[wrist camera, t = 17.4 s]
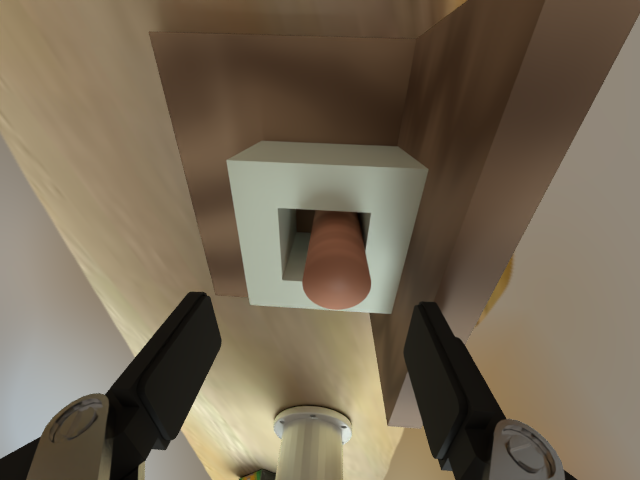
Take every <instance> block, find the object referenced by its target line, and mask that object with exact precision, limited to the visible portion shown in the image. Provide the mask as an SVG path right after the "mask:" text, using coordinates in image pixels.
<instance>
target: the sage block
mask: <svg viewBox="0 0 640 480" xmlns="http://www.w3.org/2000/svg"><path fill="white" fill-rule="evenodd" d="M226 161H227V167H228V174H229V180H230V186H231V192H232V198H233V204H234V210H235V217H236V223H237V229H238V235H239V241H240V247H241V253H242V260H243V266H244V272H245V278H246V284H247V290H248V296H249V303H250V305H258V306H274V307H289V308H305V309H321V310H333V309H327V308H323V307H321V306H318V305H317V304H315V303H313V302H312V301H311V300H310V299H309V298H308V297H307V296H306V294H305V292H304V290H303V285H302V280H303V274H304V269H305V263H306V258H307V252H308V247H309V241H310V236H311V233H304V232H296V209H306V210H326V211H346V212H357V213H358V218H359V223H360V228H361V233H362V238H363V243H364V248H365V253H366V258H367V263H368V268H369V273H370V278H371V289H370V292H369V294H368V295H367V297H366V298H365V299H364V300H363V301H362V302H361V303H359V304H358V305H356V306H353V307H351V308H347V309H341V310H336V311H352V312H368V313H383V314H392V310H393V306H394V302H395V298H396V294H397V290H398V286H399V283H400V279H401V275H402V271H403V267H404V263H405V259H406V255H407V251H408V248H409V244H410V240H411V236H412V232H413V228H414V224H415V220H416V216H417V213H418V209H419V205H420V201H421V197H422V193H423V189H424V185H425V182H426V178H427V174H428V170H429V169H428V168H426V167H425V166H424V165H422V164H421V163H420V162H418V161H417V160H416V159H414V158H413V157H412V156H410V155H409V154H408V153H406V152H405V151H403V150H402V149H401V148H399V147H398V146H377V145H352V144H328V143H304V142H280V141H260V142H259V143H257V144H255V145H253V146H251V147H249V148H248V149H246V150H244V151H242V152H240V153H239V154H237V155H235V156H233V157H231V158H229V159H228V160H226Z"/></svg>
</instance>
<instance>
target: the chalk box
mask: <svg viewBox="0 0 640 480" xmlns="http://www.w3.org/2000/svg"><path fill="white" fill-rule="evenodd" d="M275 478H276V474H274V473H271V472H269V471H266V470H264V469H261V470H259V471H257V472H255V473H252V474H250V475H248V476H245V477H243V478H240V479H239V480H275Z"/></svg>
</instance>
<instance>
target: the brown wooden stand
mask: <svg viewBox="0 0 640 480" xmlns="http://www.w3.org/2000/svg"><path fill="white" fill-rule="evenodd" d="M639 14H640V0H467V1H466V2H465V3H463V4H462V5H461V6H460V7H458V8H457V9H456V10H454V11H453V12H452V13H450V14H449V15H448V16H446V17H445V18H444V19H442V20H441V21H440V22H438V23H437V24H436V25H434V26H433V27H432V28H430V29H429V30H428V31H426V32H425V33H424V34H422V35H421V36H420V37H418V38H417V39H404V38H367V37H329V36H292V35H254V34H217V33H179V32H149V35H150V39H151V43H152V47H153V51H154V55H155V59H156V63H157V66H158V70H159V74H160V78H161V82H162V86H163V90H164V94H165V98H166V102H167V106H168V110H169V114H170V117H171V121H172V125H173V129H174V133H175V137H176V141H177V145H178V149H179V153H180V157H181V161H182V164H183V168H184V172H185V176H186V180H187V184H188V188H189V192H190V196H191V200H192V204H193V208H194V212H195V215H196V219H197V223H198V227H199V231H200V235H201V239H202V243H203V247H204V251H205V255H206V259H207V263H208V266H209V270H210V274H211V278H212V282H213V286H214V290H215V294H216V295H221V296H237V297H249V296H248V290H247V284H246V278H245V272H244V266H243V260H242V253H241V247H240V241H239V235H238V229H237V223H236V217H235V210H234V204H233V198H232V192H231V186H230V180H229V174H228V167H227V161H226V160H228V159H229V158H231V157H233V156H235V155H237V154H239V153H240V152H242V151H244V150H246V149H248V148H249V147H251V146H253V145H255V144H257V143H259V142H260V141H280V142H304V143H328V144H352V145H377V146H398V147H399V148H401V149H402V150H403V151H405V152H406V153H408V154H409V155H410V156H412V157H413V158H414V159H416V160H417V161H418V162H420V163H421V164H422V165H424V166H425V167H426V168H428V169H429V170H428V174H427V178H426V182H425V185H424V189H423V193H422V197H421V201H420V205H419V209H418V213H417V216H416V220H415V224H414V228H413V232H412V236H411V240H410V244H409V248H408V251H407V255H406V259H405V263H404V267H403V271H402V275H401V279H400V283H399V286H398V290H397V294H396V298H395V302H394V306H393V310H392V314H383V313H370V319H371V326H372V332H373V338H374V344H375V351H376V357H377V363H378V369H379V376H380V382H381V388H382V394H383V401H384V407H385V413H386V419H387V425H388V426H394V427H407V428H419V429H421V427H422V425H423V422H422V419H421V415H420V412H419V408H418V405H417V401H416V398H415V394H414V391H413V387H412V384H411V381H410V377H409V374H408V370H407V367H406V363H405V360H404V354H403V350H404V345H405V341H406V337H407V333H408V329H409V325H410V321H411V317H412V313H413V309H414V306H415V305H419V302H421V301H423V302H436V303H437V305H438V306H439V308H440V310H441V312H442V314H443V316H444V317H445V319H446V321H447V323H448V325H449V327H450V328H451V330H452V332H453V334H454V336H455V337H458V338H460V339H461V340H462V342H463V343H464V345H465V344H466V342H467V340H468V338H469V336H470V334H471V333H472V331H473V329H474V327H475V325H476V323H477V321H478V319H479V317H480V315H481V314H482V312H483V310H484V308H485V306H486V304H487V302H488V300H489V298H490V297H491V295H492V293H493V291H494V289H495V287H496V285H497V283H498V281H499V279H500V278H501V276H502V274H503V272H504V270H505V268H506V266H507V264H508V262H509V260H510V259H511V257H512V255H513V253H514V251H515V249H516V247H517V245H518V243H519V241H520V240H521V238H522V235H523V234H524V232H525V230H526V228H527V226H528V224H529V223H530V221H531V219H532V217H533V215H534V213H535V211H536V209H537V207H538V205H539V203H540V202H541V200H542V198H543V196H544V194H545V192H546V190H547V188H548V186H549V184H550V183H551V181H552V179H553V177H554V175H555V173H556V171H557V169H558V168H559V166H560V164H561V162H562V160H563V158H564V156H565V154H566V152H567V150H568V149H569V147H570V145H571V143H572V141H573V139H574V137H575V135H576V133H577V131H578V130H579V128H580V126H581V124H582V122H583V120H584V118H585V116H586V114H587V113H588V111H589V109H590V107H591V105H592V103H593V101H594V99H595V97H596V95H597V94H598V92H599V90H600V88H601V86H602V84H603V82H604V80H605V78H606V76H607V75H608V73H609V71H610V69H611V67H612V65H613V63H614V61H615V59H616V58H617V56H618V54H619V52H620V50H621V48H622V46H623V44H624V42H625V40H626V39H627V37H628V35H629V33H630V31H631V29H632V27H633V25H634V23H635V22H636V20H637V18H638V16H639ZM314 214H315V210H306V209H296V232H304V233H311V230H312V225H313V219H314Z"/></svg>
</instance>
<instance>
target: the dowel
mask: <svg viewBox="0 0 640 480" xmlns="http://www.w3.org/2000/svg"><path fill="white" fill-rule="evenodd" d="M302 285H303V290H304V292H305V294H306V296H307V297H308V298H309V299H310V300H311V301H312V302H313V303H315V304H317V305H318V306H321V307H323V308H327V309H333V310H341V309H347V308H351V307H353V306H356V305H358V304H359V303H361V302H362V301H363V300H364V299H365V298H366V297H367V295H368V294H369V292H370V289H371V278H370V273H369V268H368V263H367V258H366V253H365V248H364V243H363V238H362V233H361V228H360V223H359V218H358V213H357V212H346V211H326V210H315V214H314V219H313V225H312V230H311V236H310V241H309V247H308V252H307V258H306V263H305V269H304V274H303V280H302Z"/></svg>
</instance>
